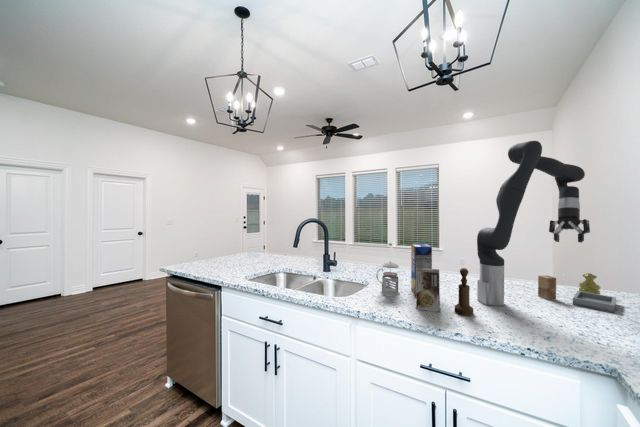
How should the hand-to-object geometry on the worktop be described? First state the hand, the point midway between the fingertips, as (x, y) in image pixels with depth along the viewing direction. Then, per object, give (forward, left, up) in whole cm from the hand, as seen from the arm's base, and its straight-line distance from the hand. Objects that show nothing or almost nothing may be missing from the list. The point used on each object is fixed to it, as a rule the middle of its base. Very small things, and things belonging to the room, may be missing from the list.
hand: (568, 242), depth 124 cm
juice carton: (-67, +9, -26) cm, 72 cm away
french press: (-83, +10, -26) cm, 87 cm away
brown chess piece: (-60, -16, -26) cm, 67 cm away
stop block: (-11, 0, -26) cm, 28 cm away
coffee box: (-72, -10, -26) cm, 77 cm away
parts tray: (+2, -9, -26) cm, 28 cm away
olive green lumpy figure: (+15, +5, -26) cm, 31 cm away
